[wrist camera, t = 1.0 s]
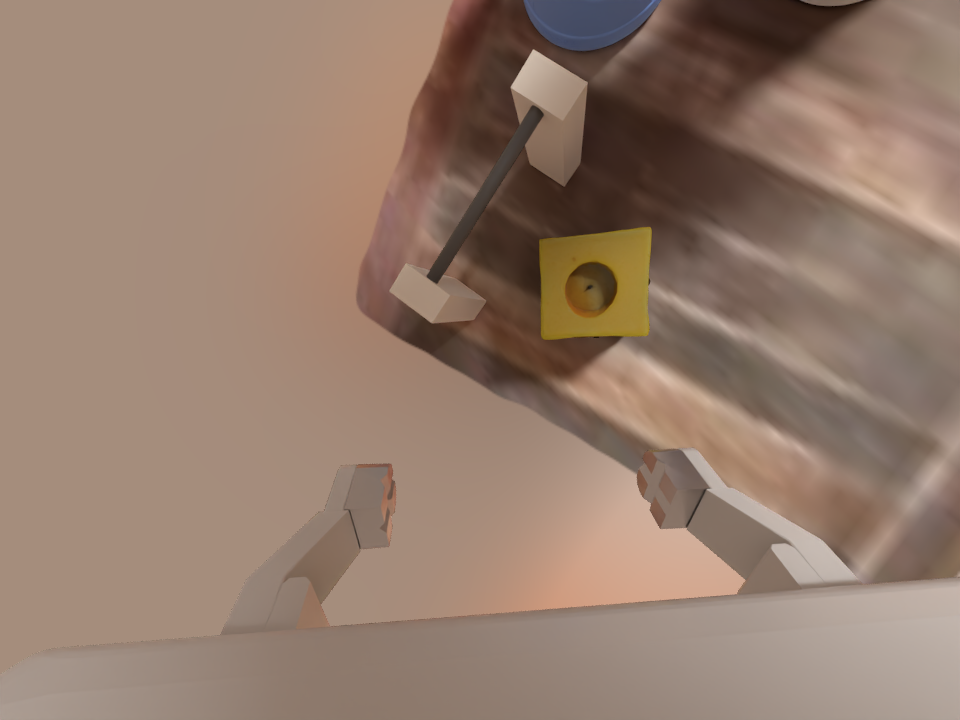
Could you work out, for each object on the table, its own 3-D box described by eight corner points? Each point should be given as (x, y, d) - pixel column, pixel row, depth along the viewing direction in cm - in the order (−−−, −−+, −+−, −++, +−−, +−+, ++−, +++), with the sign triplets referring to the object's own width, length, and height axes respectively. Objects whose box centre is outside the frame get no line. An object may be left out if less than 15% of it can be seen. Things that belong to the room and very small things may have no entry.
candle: (634, 243, 41) (655, 222, 32) (634, 332, 42) (653, 337, 33) (544, 251, 44) (537, 234, 34) (546, 334, 45) (540, 340, 35)
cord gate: (545, 140, 42) (533, 49, 27) (580, 163, 41) (587, 82, 27) (443, 297, 47) (389, 291, 33) (473, 320, 47) (431, 323, 32)
